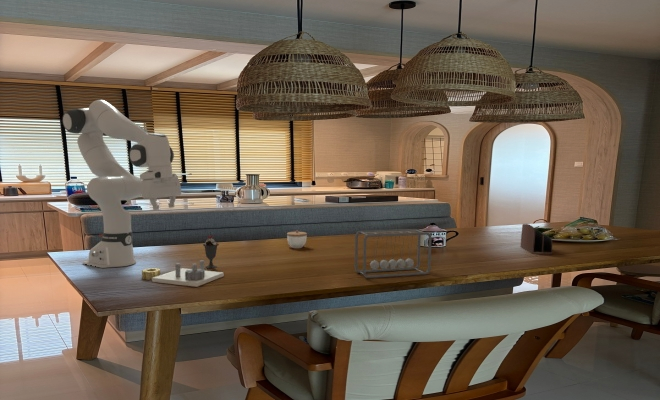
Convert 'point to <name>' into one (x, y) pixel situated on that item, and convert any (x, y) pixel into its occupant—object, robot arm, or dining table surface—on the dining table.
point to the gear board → (188, 276)
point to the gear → (150, 273)
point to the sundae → (210, 250)
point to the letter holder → (535, 241)
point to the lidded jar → (296, 239)
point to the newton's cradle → (392, 262)
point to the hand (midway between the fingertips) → (164, 208)
